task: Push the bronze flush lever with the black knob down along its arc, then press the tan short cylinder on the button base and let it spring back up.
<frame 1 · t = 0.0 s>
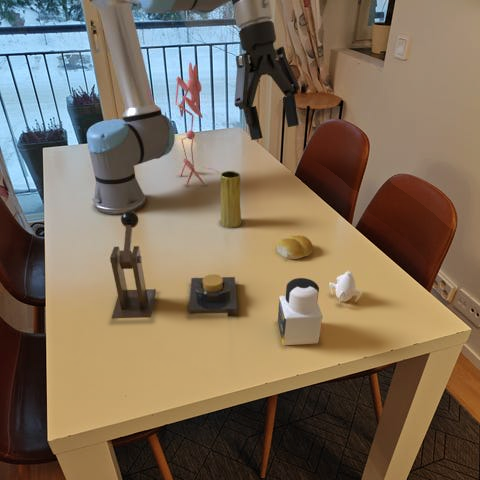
hand: (275, 132, 99), 28 cm above the table, tool tilted 20°, fingers open, 13 cm apart
bread roll: (294, 252, 112), on the table
medicine bottle: (297, 334, 88), on the table
figurine: (202, 179, 151), on the table
lever bracket: (135, 307, 94), on the table
flush lever: (128, 238, 88), point 14 cm above the table, hinge at 25.0°
tan short cylinder: (212, 283, 93), point 4 cm above the table, slide at 0.1 cm
vase: (230, 223, 125), on the table
button base: (213, 299, 96), on the table
rocket toy: (343, 300, 97), on the table
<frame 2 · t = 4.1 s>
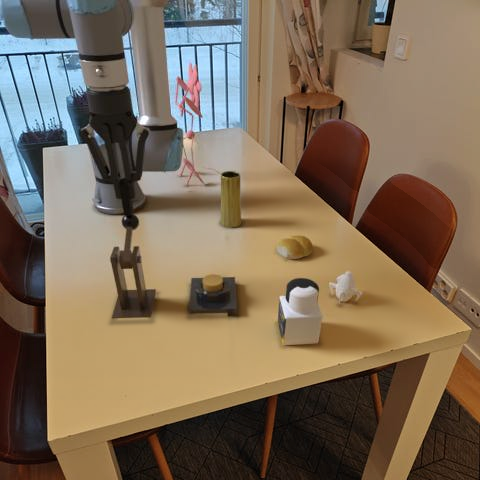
hand: (128, 212, 90), 18 cm above the table, tool pointing down, fingers closed
flush lever: (128, 239, 89), point 14 cm above the table, hinge at 20.8°, touching gripper
everything else where it was.
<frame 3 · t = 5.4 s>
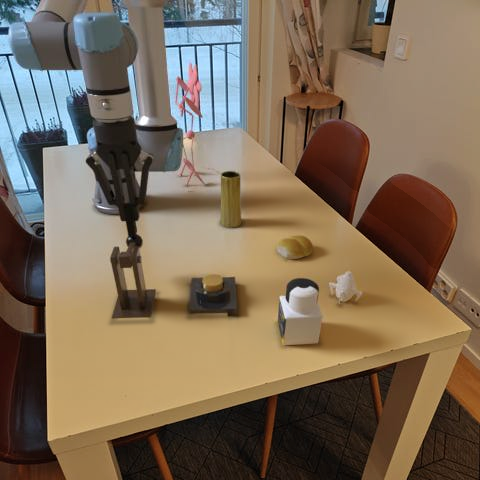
hand: (132, 234, 93), 13 cm above the table, tool pointing down, fingers closed
flush lever: (130, 250, 91), point 11 cm above the table, hinge at -8.7°, touching gripper
everything else where it was.
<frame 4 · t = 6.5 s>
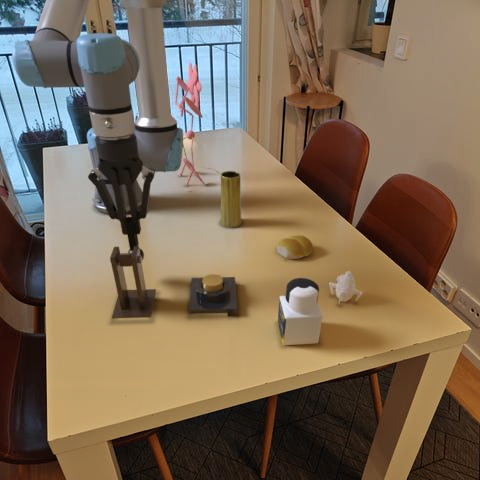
hand: (134, 246, 95), 10 cm above the table, tool pointing down, fingers closed
flush lever: (131, 257, 91), point 10 cm above the table, hinge at -25.6°, touching gripper
everything else where it was.
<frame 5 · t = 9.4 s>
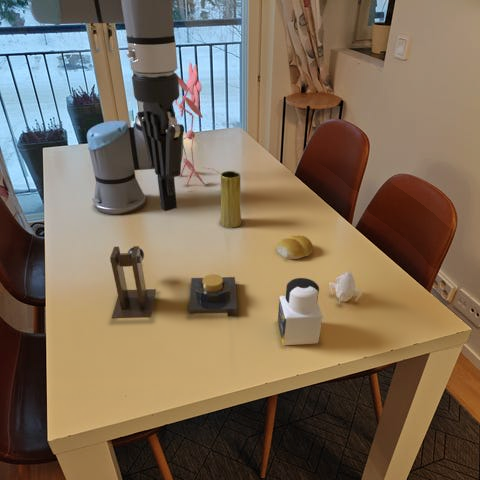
hand: (169, 208, 85), 20 cm above the table, tool pointing down, fingers closed
flush lever: (131, 257, 91), point 10 cm above the table, hinge at -25.6°
everything else where it was.
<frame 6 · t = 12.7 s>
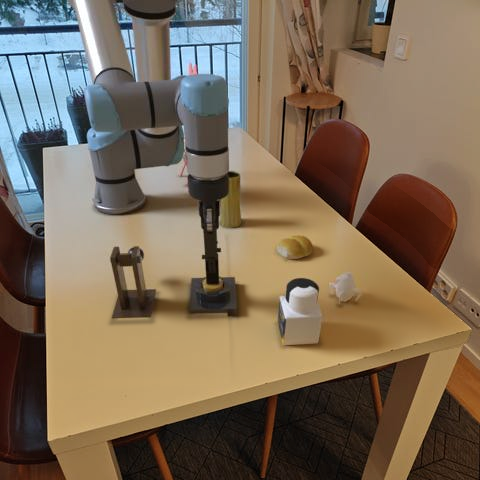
hand: (212, 281, 93), 5 cm above the table, tool pointing down, fingers closed
tan short cylinder: (212, 285, 94), point 4 cm above the table, slide at -0.6 cm, touching gripper
everything else where it was.
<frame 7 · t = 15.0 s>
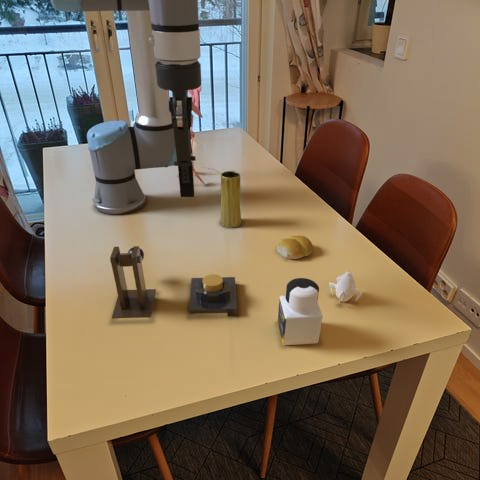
hand: (187, 195, 87), 22 cm above the table, tool pointing down, fingers closed
tan short cylinder: (212, 283, 93), point 4 cm above the table, slide at 0.1 cm
everything else where it was.
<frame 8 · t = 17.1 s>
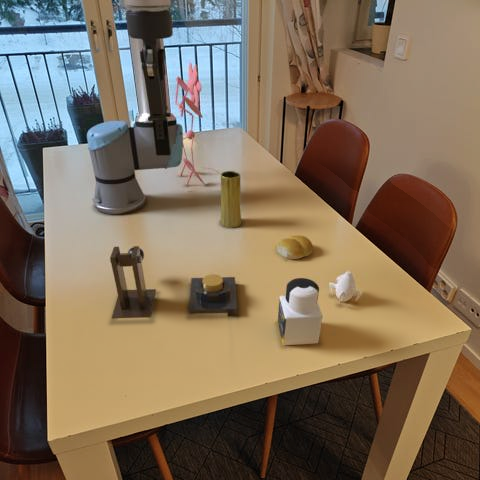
hand: (163, 153, 86), 28 cm above the table, tool pointing down, fingers closed
nothing on the table moved.
at the end: flush lever at -26° (first picture: +25°); tan short cylinder pushed in 1.0 cm at the most during the clip, back to where it started at the end; tan short cylinder slide at 0.1 cm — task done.
